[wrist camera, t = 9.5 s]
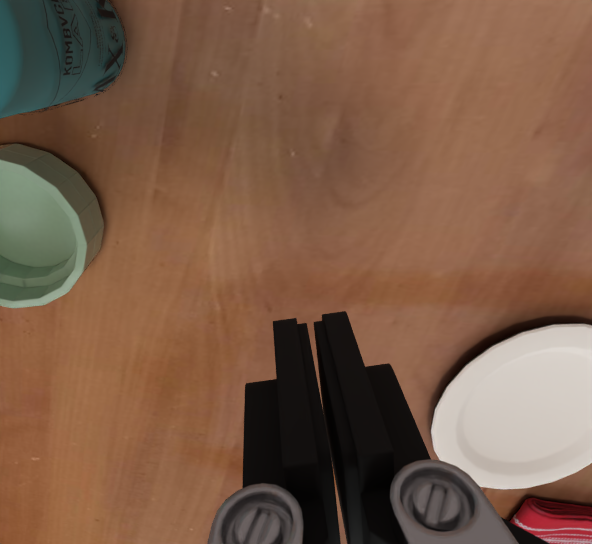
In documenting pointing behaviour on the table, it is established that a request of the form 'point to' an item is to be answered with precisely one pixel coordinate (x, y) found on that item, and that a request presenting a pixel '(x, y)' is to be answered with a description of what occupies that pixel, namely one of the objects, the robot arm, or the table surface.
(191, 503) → the table surface
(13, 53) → the beverage bottle
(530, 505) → the dish towel
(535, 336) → the plate
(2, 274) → the celadon bowl
